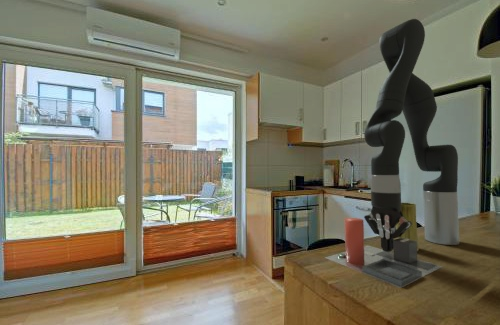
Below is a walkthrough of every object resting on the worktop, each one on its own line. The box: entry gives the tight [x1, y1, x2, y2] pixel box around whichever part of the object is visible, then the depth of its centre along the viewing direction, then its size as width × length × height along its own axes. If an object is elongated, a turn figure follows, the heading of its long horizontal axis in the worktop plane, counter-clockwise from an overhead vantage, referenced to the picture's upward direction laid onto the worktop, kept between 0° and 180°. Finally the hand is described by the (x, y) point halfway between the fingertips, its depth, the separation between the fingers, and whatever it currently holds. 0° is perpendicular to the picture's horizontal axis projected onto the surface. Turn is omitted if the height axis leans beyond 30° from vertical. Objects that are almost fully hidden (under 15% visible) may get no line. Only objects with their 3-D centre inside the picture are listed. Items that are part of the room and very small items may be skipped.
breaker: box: [393, 238, 418, 263], centre depth 64 cm, size 4×4×5 cm
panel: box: [324, 244, 443, 289], centre depth 62 cm, size 20×20×2 cm
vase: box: [395, 202, 419, 252], centre depth 74 cm, size 6×6×14 cm
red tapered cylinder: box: [344, 217, 365, 264], centre depth 63 cm, size 5×5×11 cm
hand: (387, 250), depth 68 cm, fingers closed
